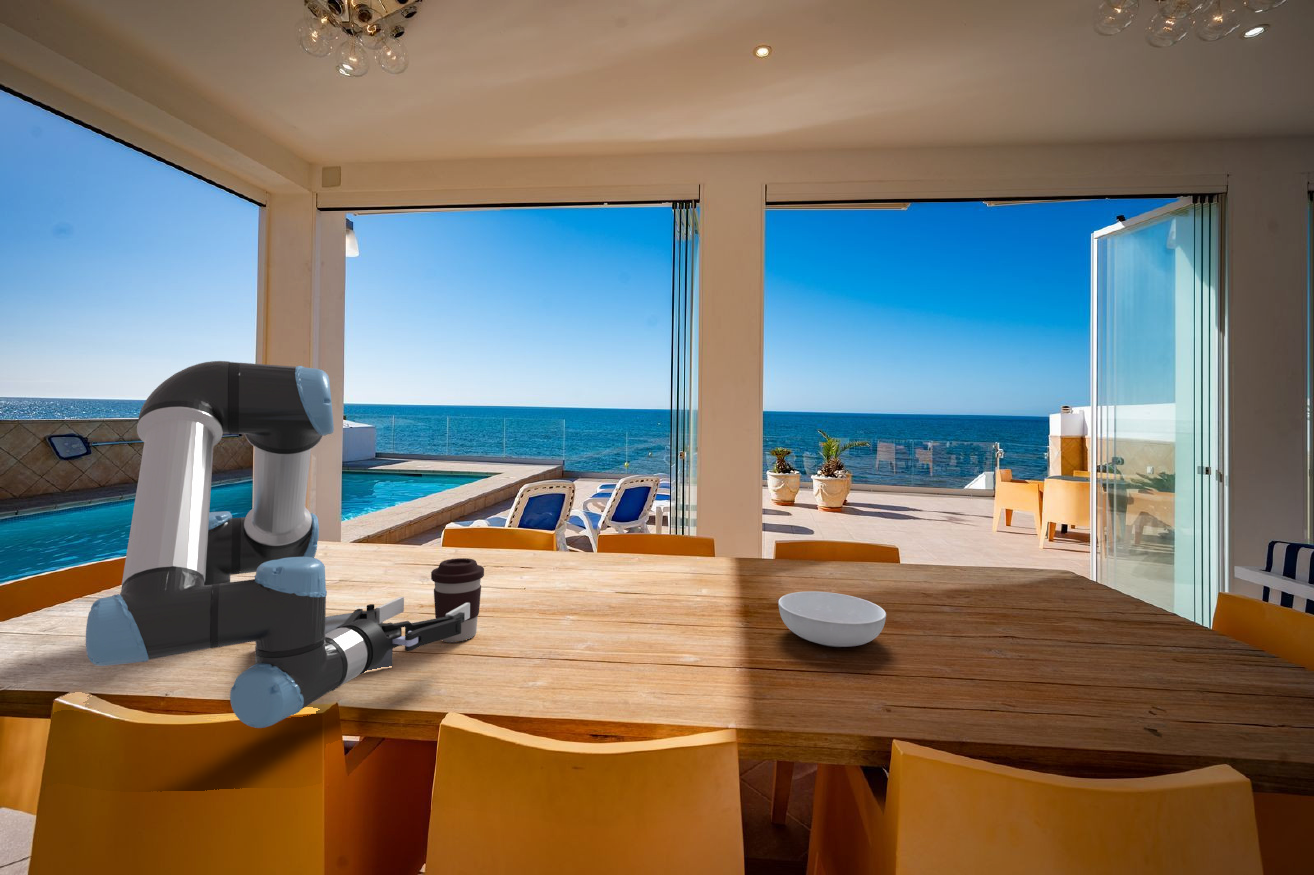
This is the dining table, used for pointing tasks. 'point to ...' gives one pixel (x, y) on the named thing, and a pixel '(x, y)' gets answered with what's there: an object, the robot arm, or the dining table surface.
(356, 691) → the dining table surface
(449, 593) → the coffee cup
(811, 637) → the serving bowl
